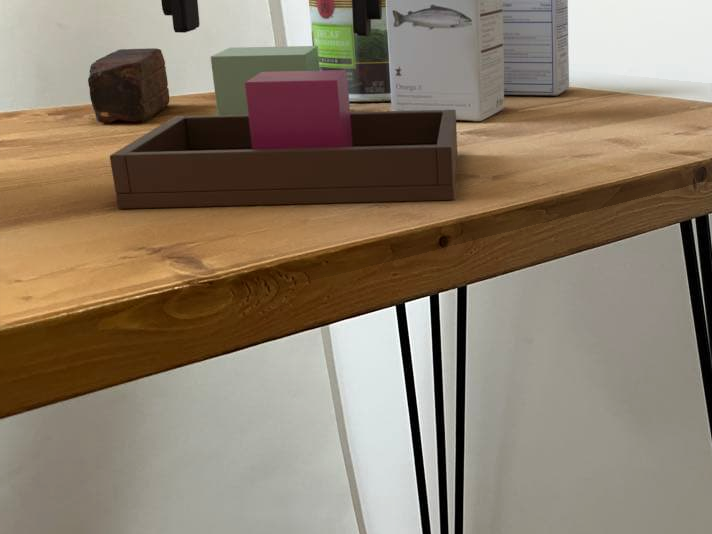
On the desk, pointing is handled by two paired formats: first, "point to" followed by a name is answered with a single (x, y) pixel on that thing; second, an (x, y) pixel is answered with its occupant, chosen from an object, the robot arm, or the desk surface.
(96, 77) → the brick
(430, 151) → the tray
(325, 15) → the coffee can
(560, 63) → the medicine box
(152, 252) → the desk surface
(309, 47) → the base block
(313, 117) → the top block
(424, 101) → the white packaging box
